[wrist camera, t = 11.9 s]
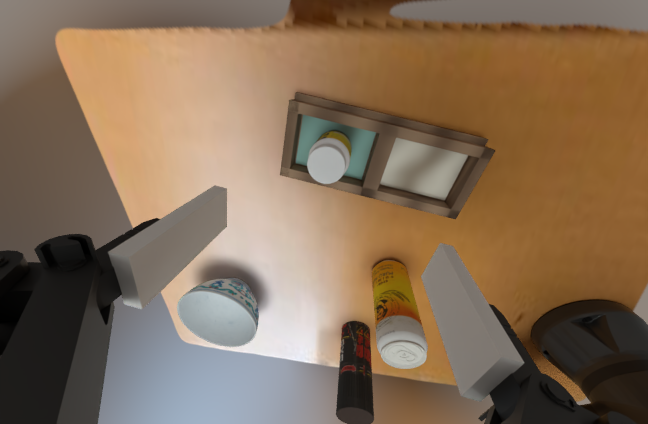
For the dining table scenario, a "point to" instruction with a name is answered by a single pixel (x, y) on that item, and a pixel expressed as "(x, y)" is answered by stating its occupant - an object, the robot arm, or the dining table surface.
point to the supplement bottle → (329, 157)
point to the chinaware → (220, 312)
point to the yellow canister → (397, 317)
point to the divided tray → (388, 155)
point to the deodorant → (355, 375)
